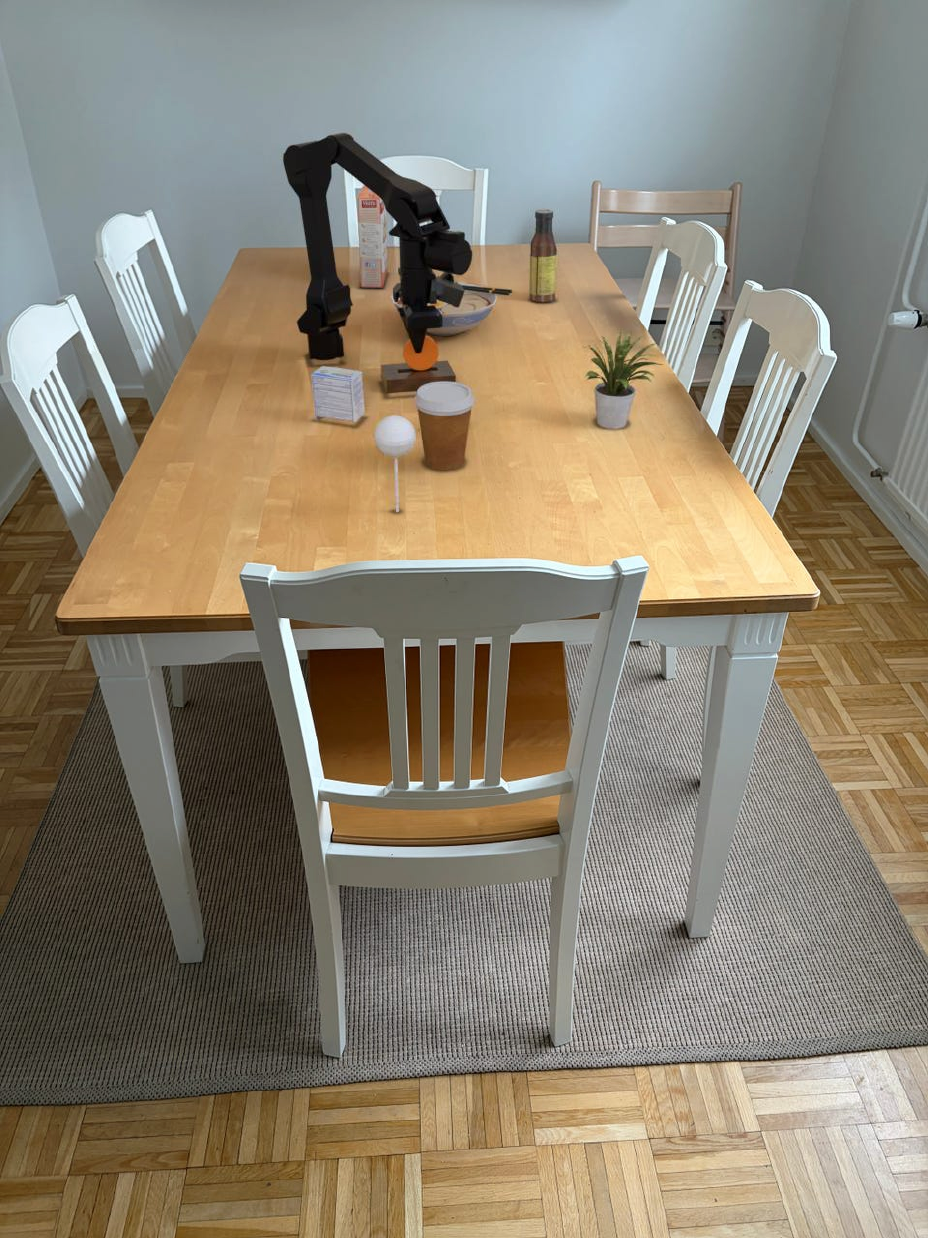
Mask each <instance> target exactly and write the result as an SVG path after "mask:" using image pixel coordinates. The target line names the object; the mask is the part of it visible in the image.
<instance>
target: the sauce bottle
mask: <svg viewBox="0 0 928 1238" xmlns="http://www.w3.org/2000/svg"><path fill="white" fill-rule="evenodd" d="M534 217H535V229H534V230H535V233H534V235H533V237H532V238H531V241H530V248H529V249H530V254H529V290H528V291H529V298H530V301H533V302H536V303H541V304H543V303H544V304H545V303H550V302H553V301H554V300H555V298H556V293H557V262H558V261H557V259H558V256H557V255H558V248H557V245H556V242H555V237H554V233H553V218H554V211H553V210H552V209H548V208H543V209H541V208H540V209H536V210H535V213H534Z"/></svg>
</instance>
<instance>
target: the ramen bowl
mask: <svg viewBox="0 0 928 1238" xmlns="http://www.w3.org/2000/svg"><path fill="white" fill-rule="evenodd" d="M454 282H455V283H456V282H458V284H460V285H461V286H462V287H463V289H464V290H465V292H464V295H463V297H462V300H461V303H460V306H459V307H458V308H457V307H454V306H452V305H451V304H448V303H445V302H442V301H439V300H437V304H430V303H428V306H430V305H434V306H435V307H436V308H437V309H438V310H439V311H440V313H441V314H442V316H443V327H441V328H428V329H427V332H426V333H429V334H430V335H433V336H439V337H452V336H456V335H458V334H460V333H462V332H466V331H469V330H472V329H474V328H475V327H477V326H479V325H480V324H482V323H483V322H484V321H485V320H486V318H487V317H488V316H489V315H490V313H491V312H492V309H493V308H494V306H495V304H496V301H497V300H498V296H497V295H500V296H510V294H512V293H513V290H512V289H507V288H499V287H498V288H496V287H495V288H494V287H486V286H482V285H477V284H472V283H468V282H459V281H454ZM390 298H391V300H392V303H393V304H394V307H395V309H396V311H397V312H398V308H402V302H401V300H400V298H399V300H398V302H395V301H394V299H393V294H391V295H390Z"/></svg>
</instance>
